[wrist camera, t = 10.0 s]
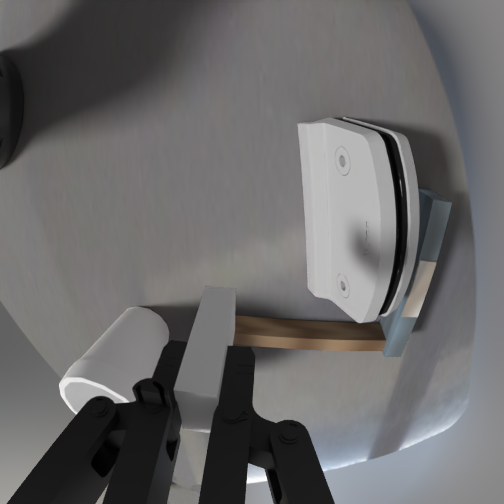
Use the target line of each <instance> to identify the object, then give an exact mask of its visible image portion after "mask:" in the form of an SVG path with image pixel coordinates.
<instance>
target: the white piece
mask: <svg viewBox="0 0 504 504" xmlns="http://www.w3.org/2000/svg"><path fill="white" fill-rule="evenodd" d="M298 132H299V143H300V154H301V167H302V180H303V194H304V210H305V228H306V249H307V275H308V289H309V290H310V291H311V292H312V294H313V295H314V296H316V297H320V298H326V299H330V300H331V301H333V302H334V303H335V304H336V305H337V306H339V307H340V308H341V309H342V310H343V311H345V312H346V313H347V314H348V315H349V316H351V317H352V318H353V319H354V320H355V321H357V322H358V323H365V322H372V321H374V320H375V319H376V318H377V316H378V315H381V316H384V317H385V316H387V315H389V314H390V313H391V312H393V311H394V310H396V309H397V308H398V306H399V304H400V302H401V301H402V299H403V297H404V294H405V292H406V290H407V287H408V284H409V282H410V279H411V275H412V272H413V268H414V264H415V259H416V253H417V246H418V238H419V192H418V183H417V176H416V170H415V165H414V160H413V156H412V152H411V148H410V144H409V142H408V140H407V138H406V137H405V136H404V135H403V134H401V133H398V132H395V131H392V130H388V129H385V128H382V127H379V126H375V125H372V124H369V123H365V122H362V121H358V120H354V119H350V118H345V117H343V121H341V120H337V119H333V118H330V117H329V118H325V119H321V120H318V121H314V122H302V123H298Z"/></svg>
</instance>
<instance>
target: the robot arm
mask: <svg viewBox="0 0 504 504" xmlns="http://www.w3.org/2000/svg"><path fill="white" fill-rule="evenodd" d="M22 117H23V90H22V84H21V80H20V76H19V73H18V71H17V69H16V67H15V66H14V64H13V63H12V62H11V61H10V60H9V59H7V58H5V57H2V56H0V168H1V167H3V166H4V165H5V163H6V162H7V161H8V159H9V158H10V156H11V154H12V153H13V151H14V148H15V146H16V143H17V140H18V137H19V133H20V129H21V124H22ZM235 301H236V288H224V287H211V286H206V287H205V290H204V293H203V296H202V299H201V302H200V305H199V309H198V312H197V315H196V318H195V321H194V324H193V327H192V331H191V334H190V337H189V340H188V342H182V341H174V340H170V341H169V342H168V343H167V344H166V345H165V346H164V347H163V350H162V352H161V355H160V358H159V360H158V363H157V365H156V368H155V371H154V373H153V376H152V378H146V379H142V380H140V381H138V382H137V383H135V385H134V386H133V388H132V390H133V393H134V396H135V398H136V401H134V402H127V403H114V401H113V400H112V399H110V398H109V397H106V396H96V397H93V398H91V399H90V400H89V401H87V402H86V404H85V405H84V406H83V407H82V408H81V410H80V411H79V412H78V413H77V415H76V416H75V417H74V419H73V420H72V421H71V422H70V423H69V425H68V426H67V427H66V428H65V430H64V431H63V432H62V434H60V436H59V437H58V438H57V439H56V441H55V442H54V443H53V444H52V446H51V447H50V448H49V450H48V451H47V452H46V453H45V455H44V456H43V457H42V459H41V460H40V461H39V462H38V464H37V465H36V466H35V467H34V469H33V470H32V471H31V473H30V474H29V475H28V477H27V478H26V479H25V480H24V482H23V483H22V484H21V486H20V487H19V488H18V489H17V491H16V492H15V494H14V495H13V496H12V497H11V499H10V500H9V501H8V503H7V504H95V503H96V502H97V500H98V499H99V497H100V496H101V494H102V493H103V491H104V490H105V488H106V486H107V485H108V488H107V491H106V494H105V497H104V500H103V504H167V500H168V495H169V491H170V486H171V481H172V477H173V472H174V467H175V463H176V458H177V454H178V449H179V445H180V434H179V432H180V428H181V424H182V428H183V429H185V430H192V431H199V432H207V433H210V437H209V443H208V449H207V455H206V461H205V467H204V473H203V479H202V485H201V491H200V497H199V503H198V504H245V494H246V481H247V468H248V463H250V464H253V465H256V466H258V467H261V468H264V469H265V472H266V476H267V480H268V484H269V488H270V491H271V495H272V498H273V503H274V504H335V503H334V500H333V498H332V495H331V492H330V490H329V487H328V484H327V482H326V479H325V476H324V473H323V471H322V468H321V465H320V463H319V460H318V457H317V455H316V452H315V449H314V446H313V444H312V441H311V438H310V435H309V433H308V431H307V429H306V428H305V426H304V425H302V424H301V423H300V422H297V421H294V420H283V421H280V422H278V423H275V422H272V421H269V420H266V419H264V418H262V417H260V416H259V415H258V414H257V413H256V412H255V411H254V408H253V404H252V399H253V384H254V369H255V354H254V352H253V350H252V348H251V347H241V346H233V340H234V333H235ZM108 483H109V484H108Z"/></svg>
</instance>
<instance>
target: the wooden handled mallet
mask: <svg viewBox="0 0 504 504" xmlns="http://www.w3.org/2000/svg"><path fill="white" fill-rule="evenodd" d="M418 192H419V238H418V246H417V253H416V259H415V264H414V268H413V272H412V275H411V279H410V282H409V284H408V287H407V290H406V292H405V294H404V297H403V299H402V301H401V302H400V304H399V306H398V308H397V309H396V310H394V311H393V312H391V313H390V314H389V315H387V316H385V317H384V316H382V317H381V320H380V323H352V322H327V321H307V320H290V319H276V318H262V317H250V316H238V315H235V333H234V340H233V344H236V345H247V346H259V347H272V348H288V349H307V350H335V351H382V352H383V354H384V357H401V355H402V353H403V351H404V348H405V346H406V344H407V341H408V339H409V337H410V334H411V332H412V329H413V327H414V325H415V322H416V319H417V317H418V315H419V312H420V310H421V307H422V305H423V302H424V299H425V296H426V293H427V291H428V288H429V285H430V282H431V279H432V276H433V273H434V270H435V266H436V263H437V259H438V255H439V252H440V249H441V245H442V241H443V238H444V234H445V230H446V226H447V222H448V218H449V214H450V210H451V205H452V203H451V202H450V201H448V200H447V199H445V198H444V197H442V196H440V195H439V194H437V193H436V192H434V191H432V190H427V189H422V188H418Z"/></svg>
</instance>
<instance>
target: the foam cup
mask: <svg viewBox="0 0 504 504" xmlns="http://www.w3.org/2000/svg"><path fill="white" fill-rule="evenodd" d="M169 334H170V333H169V330H168V326H167V324H166V323H165V321H164V320H163V319H162V318H161V316H160V315H158V314H157V313H155V312H153V311H152V310H150V309H147V308H143V307H139V306H137V307H132V308H128V309H127V310H126V311H125V312H124V313H123V314H122V315H121V316H120V317H119V318H118V319H117V320H116V321H115V322H114V323H113V324H112V325H111V326H110V327H109V328H108V329H107V330H106V332H105V333H104V334H103V335H102V336H101V337H100V338H99V339H98V340H97V341H96V342H95V343H94V344H93V345H92V347H91V348H90V349H89V350H88V351H87V352H86V353H85V354H84V355H83V356H82V357H81V359H80V360H77V361H76V362H75V363H74V364H73V365H72V366H71V367H70V368H69V369H68V371H67V372H66V374H65V376H64V377H63V379H62V380H61V382H60V384H59V387H60V394H61V396H62V398H63V399H64V401H65V402H66V404H67V405H68V407H69V408H70V409H71V410H72V411H73V412H74V413H75V414H76V415H77V413H78V412H79V411H80V410H81V408H82V407H83V406H84V405H85V404H86V402H87V401H89V400H90V399H91V398H93V397H96V396H106V397H109V398H110V399H112V400H113V401H114V403H127V402H134V401H136V398H135V396H134V393H133V390H132V388H133V386H134V385H135V383H137V382H138V381H140V380H142V379H146V378H152V376H153V373H154V371H155V368H156V365H157V363H158V360H159V358H160V355H161V352H162V350H163V347H164V346H165V345H166V344H167V343H168V339H169Z"/></svg>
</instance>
